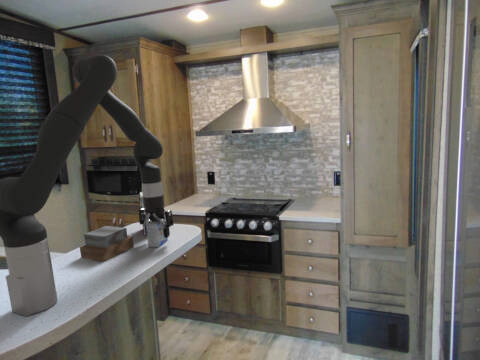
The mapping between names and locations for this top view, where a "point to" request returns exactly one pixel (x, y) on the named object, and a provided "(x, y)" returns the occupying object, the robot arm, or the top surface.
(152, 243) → the medicine box
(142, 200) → the white cardboard box
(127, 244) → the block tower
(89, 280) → the top surface
